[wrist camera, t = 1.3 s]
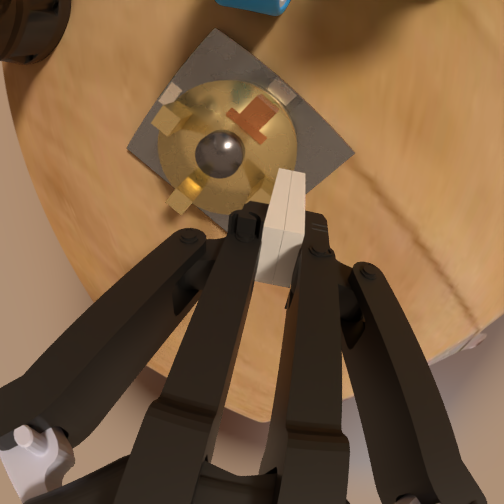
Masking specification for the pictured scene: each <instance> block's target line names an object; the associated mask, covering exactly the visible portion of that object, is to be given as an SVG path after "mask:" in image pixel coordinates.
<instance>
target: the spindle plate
mask: <svg viewBox="0 0 504 504" xmlns="http://www.w3.org/2000/svg"><path fill="white" fill-rule="evenodd" d="M220 80H239V81H245V82H249V83H252V84H255V85H257V86H259V87H261V88H263V89H265V90H267V91H268V92H270V93H271V94H272V95H273V96H275V97H276V98H277V99H278V100H279V101H280V102H281V103H282V104H283V106H284V107H285V108H286V110H287V111H288V113H289V115H290V117H291V119H292V121H293V124H294V126H295V130H296V135H297V157H296V164H295V168H294V171H296V172H301V173H305V194H307V193H308V192H309V191H310V190H311V189H313V188H314V187H315V186H316V185H318V184H319V183H320V182H321V181H322V180H324V179H325V178H326V177H327V176H328V175H330V174H331V173H332V172H333V171H334V170H336V169H337V168H338V167H339V166H340V165H342V164H343V163H344V162H345V161H346V160H348V159H349V158H350V157H351V156H353V155H354V154H355V152H354V151H353V150H352V149H351V147H350V146H349V145H348V144H347V143H346V142H345V141H344V140H343V139H342V137H341V136H340V135H339V134H338V133H337V132H336V131H335V130H334V129H333V128H332V127H331V126H330V125H329V124H328V123H327V122H326V120H325V119H324V118H323V117H322V116H321V115H320V114H319V113H318V112H317V111H316V110H315V109H314V108H313V107H312V106H311V105H310V104H309V103H307V102H306V101H305V100H304V99H303V98H302V97H301V96H300V95H299V94H298V93H297V92H296V91H295V90H294V89H293V88H291V87H290V86H289V85H288V84H287V83H286V82H285V81H284V80H282V79H281V78H280V77H279V76H278V75H277V74H276V73H274V72H273V71H272V70H271V69H270V68H268V67H267V66H266V65H265V64H264V63H262V62H261V61H260V60H259V59H257V58H256V57H255V56H254V55H252V54H251V53H250V52H249V51H247V50H246V49H245V48H243V47H242V46H241V45H239V44H238V43H237V42H235V41H234V40H233V39H231V38H230V37H228V36H227V35H226V34H224V33H223V32H221V31H220V30H218V29H217V28H214V29H213V30H212V31H211V33H210V34H209V35H208V36H207V37H206V38H205V39H204V40H203V41H202V43H201V44H200V45H199V46H198V47H197V48H196V50H195V51H194V52H193V53H192V54H191V56H190V57H189V58H188V59H187V60H186V62H185V63H184V64H183V65H182V67H181V68H180V69H179V71H178V72H177V73H176V74H175V76H174V77H173V78H172V80H171V81H170V82H169V84H168V85H167V86H166V88H165V89H164V91H163V92H162V93H161V95H160V96H159V98H158V99H157V101H156V102H155V103H154V105H153V106H152V108H151V109H150V111H149V112H148V114H147V115H146V117H145V119H144V120H143V122H142V123H141V125H140V126H139V128H138V130H137V131H136V133H135V134H134V136H133V138H132V139H131V141H130V143H129V145H128V146H127V149H128V150H129V151H131V152H132V153H133V154H134V155H135V156H137V157H138V158H139V159H140V160H141V161H143V162H144V163H145V164H146V165H147V166H149V167H150V168H151V169H152V170H153V171H155V172H156V173H157V174H158V175H159V176H161V177H162V178H163V179H164V180H165V181H167V182H168V183H169V184H170V182H169V181H168V179H167V177H166V175H165V173H164V172H163V169H162V166H161V164H160V159H159V155H158V134H159V129H157V128H156V127H155V126H154V125H152V124H151V122H152V121H153V119H154V118H155V116H156V115H157V113H158V112H159V110H160V109H161V107H162V106H163V105H165V104H168V103H172V102H174V101H175V100H176V99H178V98H179V97H180V96H181V95H182V94H184V93H185V92H187V91H188V90H190V89H192V88H194V87H196V86H198V85H201V84H204V83H207V82H213V81H220ZM170 185H171V184H170ZM171 186H172V185H171ZM198 208H199V207H198ZM199 209H200V210H201V211H203V212H204V213H205V214H206V215H207V216H209V217H210V218H211V219H212V220H213V221H215V222H216V223H217V224H218V225H219V226H221V227H222V228H223V229H224V230H225V231H227V232H228V221H229V215H226V214H218V213H213V212H210V211H207V210H204V209H202V208H199Z"/></svg>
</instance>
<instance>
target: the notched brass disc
mask: <svg viewBox="0 0 504 504" xmlns="http://www.w3.org/2000/svg"><path fill="white" fill-rule="evenodd" d="M151 124H152V125H154V126H155V127H156V128H157V129H159V134H158V155H159V159H160V164H161V166H162V169H163V172H164V173H165V175H166V177H167V179H168V181H169V182H170V184H171V185H172V186H173V187H174V189H175V190H174V192H173V193H172V194H171V195H170V197H169V198H168V199H167V201H166V202H165V203H167V204H168V205H169V206H170V207H171V208H173V209H174V210H175V211H176V212H177V213H179V214H180V215H182V214H183V213H184V212H185V211H186V210H187V208H188V207H189V206H190V205H191V204H194V205H195V206H197V207H199V208H202V209H204V210H207V211H210V212H213V213H218V214H226V215H230V214H231V213H232V212H234V211H236V210H242V209H243V206H244V204H246V203H248V202H249V201H255V202H260V203H266V204H270V200H271V196H272V193H273V189H274V185H275V181H276V177H277V174H278V170H279V168H281V169H286V170H291V171H294V168H295V164H296V157H297V135H296V130H295V126H294V124H293V121H292V119H291V117H290V115H289V113H288V111H287V110H286V108H285V107H284V106H283V104H282V103H281V102H280V101H279V100H278V99H277V98H276V97H275V96H273V95H272V94H271V93H270V92H268V91H267V90H265V89H263V88H261V87H259V86H257V85H255V84H252V83H249V82H245V81H239V80H220V81H213V82H207V83H204V84H201V85H198V86H196V87H194V88H192V89H190V90H188V91H187V92H185V93H184V94H182V95H181V96H180V97H179V98H178V99H176V100H175V101H174V102H172V103H168V104H165V105H163V106H162V107H161V109H160V110H159V112H158V113H157V115H156V116H155V118H154V119H153V121H152V122H151Z"/></svg>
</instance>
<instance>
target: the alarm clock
mask: <svg viewBox="0 0 504 504" xmlns="http://www.w3.org/2000/svg"><path fill="white" fill-rule="evenodd" d="M215 1H216V2H217V3H218V4H219V5H222V6H226V7H233V8H238V9H244V10H249V11H254V12H258V13H263V14H267V15H271V16H279V15H281V14H282V13H283V12H284V11H285V9H286V8H287V6H288V5H289V3H290V1H291V0H215Z"/></svg>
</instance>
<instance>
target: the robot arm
mask: <svg viewBox="0 0 504 504" xmlns="http://www.w3.org/2000/svg"><path fill="white" fill-rule="evenodd" d="M70 8H71V0H0V61H5V62H11V63H16V64H22V65H26V64H31V63H36V62H39V61H41V60H43V59H44V58H45V57H47V56H48V55H49V54H50V53H51V52H52V50H53V49H54V48H55V47H56V45H57V44H58V42H59V40H60V39H61V37H62V35H63V33H64V30H65V28H66V25H67V22H68V19H69V15H70ZM254 281H258V282H262V283H267V284H272V285H277V286H282V287H288V288H290V285H291V289H290V292H289V295H288V299H287V302H286V305H285V309H287V311H286V319H285V327H284V334H283V342H282V349H281V357H280V364H279V371H278V377H277V384H276V391H275V397H274V403H273V409H272V415H271V421H270V427H269V433H268V440H267V444H266V449H265V452H264V455H263V458H262V461H261V465H260V469H259V475H255V476H237V475H234V474H232V473H230V472H228V471H225V470H223V469H221V468H219V467H217V466H215V465H213V464H211V460H212V456H213V451H214V446H215V441H216V437H217V433H218V429H219V425H220V421H221V418H222V414H223V409H224V406H225V402H226V398H227V394H228V390H229V386H230V382H231V378H232V374H233V370H234V366H235V362H236V357H237V353H238V349H239V345H240V341H241V337H242V333H243V329H244V325H245V321H246V316H247V312H248V308H249V304H250V300H251V296H252V292H253V287H254ZM272 281H273V282H272ZM198 300H199V301H198ZM197 301H198V303H197V306H196V308H195V310H194V313H193V315H192V318H191V320H190V323H189V325H188V327H187V330H186V332H185V335H184V337H183V340H182V342H181V345H180V347H179V350H178V352H177V355H176V357H175V360H174V362H173V365H172V367H171V370H170V372H169V375H168V377H167V380H166V383H165V385H164V388H163V390H162V393H161V395H160V397H159V398H158V399H157V400H154V401H153V402H152V403H151V405H150V406H149V408H148V410H147V412H146V414H145V417H144V419H143V422H142V424H141V427H140V430H139V432H138V435H137V438H136V440H135V443H134V446H133V449H132V451H131V454H130V455H127V456H124V457H122V458H120V459H118V460H116V461H114V462H112V463H110V464H108V465H106V466H104V467H102V468H100V469H98V470H96V471H94V472H92V473H90V474H88V475H86V476H84V477H82V478H79V479H77V480H75V481H73V482H71V483H68V484H66V485H64V486H62V479H63V477H64V475H65V474H66V472H67V471H68V470H69V469H70V468H71V467H73V466H74V464H75V458H74V453H73V448H74V447H76V446H77V445H79V444H80V443H81V442H82V441H84V440H85V439H86V438H87V437H88V436H89V435H90V434H91V433H92V432H93V431H94V430H95V428H96V427H97V426H98V425H99V424H100V422H101V421H102V420H103V419H104V417H105V416H106V415H107V413H108V412H109V411H110V410H111V408H112V407H113V406H114V404H115V403H116V402H117V401H118V399H119V398H120V397H121V395H122V394H123V393H124V392H125V391H126V389H127V388H128V387H129V386H130V384H131V383H132V382H133V381H134V379H135V378H136V377H137V375H138V374H139V373H140V372H141V371H142V369H143V368H144V367H145V366H146V364H147V363H148V362H149V361H150V359H151V358H152V357H153V356H154V354H155V353H156V352H157V351H158V349H159V348H160V347H161V346H162V344H163V343H164V342H165V341H166V339H167V338H168V337H169V336H170V334H171V333H172V332H173V331H174V329H175V328H176V327H177V326H178V325H179V323H180V322H181V321H182V320H183V318H184V317H185V316H186V315H187V313H188V312H189V311H190V310H191V309H192V307H193V306H194V305H195V304H196V302H197ZM342 353H343V357H344V360H345V363H346V367H347V370H348V374H349V378H350V381H351V385H352V388H353V392H354V396H355V400H356V403H357V407H358V411H359V415H360V419H361V423H362V427H363V431H364V435H365V440H366V444H367V448H368V453H369V457H370V462H371V466H372V471H373V476H374V480H375V485H376V488H377V492H378V494H379V497H380V500H381V502H382V504H487V501H486V498H485V496H484V494H483V493H482V491H481V489H480V488H479V486H478V485H477V483H476V482H475V480H474V479H473V477H472V475H471V474H470V472H469V471H468V469H467V468H466V466H465V464H464V463H463V461H462V460H461V456H460V453H459V449H458V446H457V443H456V439H455V436H454V433H453V430H452V426H451V423H450V420H449V418H448V415H447V412H446V409H445V406H444V403H443V401H442V398H441V396H440V393H439V390H438V388H437V385H436V383H435V380H434V378H433V375H432V373H431V370H430V368H429V366H428V363H427V361H426V359H425V356H424V354H423V352H422V350H421V347H420V345H419V343H418V341H417V339H416V337H415V334H414V332H413V330H412V328H411V326H410V324H409V322H408V320H407V318H406V316H405V314H404V312H403V310H402V308H401V306H400V304H399V302H398V300H397V298H396V297H395V295H394V293H393V291H392V289H391V287H390V285H389V283H388V282H387V280H386V278H385V276H384V274H383V273H382V272H381V270H380V269H379V268H377V267H376V266H375V265H373V264H371V263H367V262H357V263H356V264H354V266H353V268H351V267H349V266H347V265H344V264H342V263H340V262H339V261H337V260H336V259H335V253H334V251H333V250H332V249H331V248H330V246H329V236H328V227H327V220H326V219H325V217H324V216H323V215H322V214H319V213H314V212H309V211H305V173H301V172H296V171H291V170H286V169H281V168H279V170H278V174H277V177H276V181H275V185H274V189H273V193H272V196H271V200H270V204H266V203H260V202H255V201H249V202H248V203H246V204H244V206H243V209H242V210H236V211H234V212H232V213H231V214H230V215H229V221H228V233H227V236H226V237H225V238H221V239H206V235H205V234H204V233H203V232H202V231H200V230H198V229H194V228H185V229H181V230H178V231H176V232H175V233H173V234H172V235H171V236H170V237H169V238H167V239H166V240H165V241H164V242H163V243H161V244H160V245H159V246H158V247H157V248H155V249H154V250H153V251H152V252H151V253H149V254H148V255H147V256H146V257H145V258H144V259H142V260H141V261H140V262H139V263H138V264H137V265H136V266H134V267H133V268H132V269H131V270H130V271H129V272H128V273H126V274H125V275H124V276H123V277H122V278H121V279H120V280H119V281H117V282H116V283H115V284H114V285H113V286H112V287H111V288H110V289H109V290H108V291H106V292H105V293H104V294H103V295H102V296H101V297H100V298H99V299H98V300H97V301H96V302H95V303H94V304H93V305H91V306H90V307H89V308H88V309H87V310H86V311H85V312H84V313H83V314H82V315H81V316H80V317H79V318H78V319H77V320H76V321H75V322H74V323H73V324H72V325H71V326H70V327H69V328H68V329H67V330H66V331H65V332H64V333H63V334H62V335H61V336H60V337H59V338H58V339H57V340H56V341H55V342H54V343H53V344H52V345H51V346H50V347H49V348H48V349H47V350H46V351H45V352H44V353H43V354H42V355H41V356H40V357H39V358H38V360H37V361H36V362H35V363H34V364H33V365H32V366H31V367H30V368H29V369H28V371H26V373H25V374H24V375H23V376H21V377H19V378H18V379H16V380H14V381H12V382H10V383H8V384H7V385H5V386H3V387H1V388H0V458H1V460H2V463H3V465H4V467H5V469H6V472H7V474H8V476H9V478H10V480H11V482H12V484H13V486H14V488H15V490H16V492H17V494H18V496H19V498H20V499H21V501H22V503H23V504H350V503H349V502H348V501H347V499H346V495H347V484H348V473H349V472H348V471H349V457H350V447H349V441H348V438H347V437H346V436H345V435H344V434H343V433H342V430H341V418H342Z"/></svg>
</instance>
